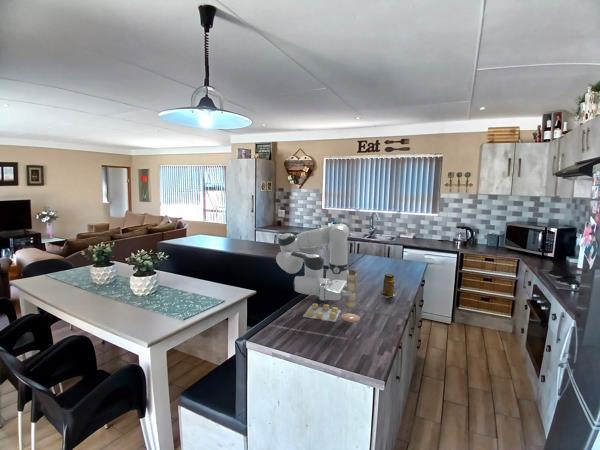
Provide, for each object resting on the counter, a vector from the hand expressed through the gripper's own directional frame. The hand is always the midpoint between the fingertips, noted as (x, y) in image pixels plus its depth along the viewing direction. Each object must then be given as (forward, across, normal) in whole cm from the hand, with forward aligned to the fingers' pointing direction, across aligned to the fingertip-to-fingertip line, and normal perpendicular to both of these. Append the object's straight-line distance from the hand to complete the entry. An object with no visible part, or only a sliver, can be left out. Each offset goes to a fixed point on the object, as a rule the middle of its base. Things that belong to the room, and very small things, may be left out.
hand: (353, 291), depth 149 cm
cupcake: (-19, -19, -14) cm, 30 cm away
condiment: (+14, -41, -14) cm, 46 cm away
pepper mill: (-1, 0, -8) cm, 8 cm away
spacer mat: (-15, 0, -14) cm, 20 cm away
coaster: (-1, 0, -14) cm, 14 cm away
